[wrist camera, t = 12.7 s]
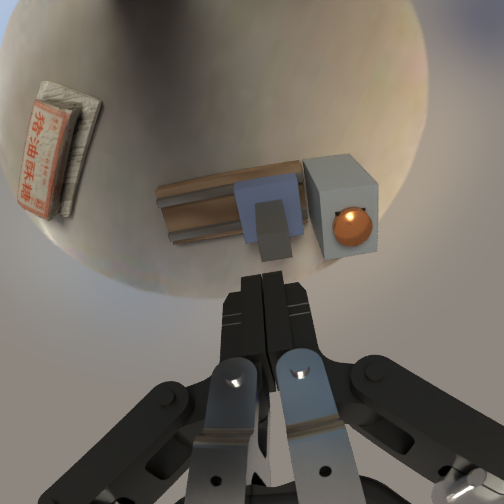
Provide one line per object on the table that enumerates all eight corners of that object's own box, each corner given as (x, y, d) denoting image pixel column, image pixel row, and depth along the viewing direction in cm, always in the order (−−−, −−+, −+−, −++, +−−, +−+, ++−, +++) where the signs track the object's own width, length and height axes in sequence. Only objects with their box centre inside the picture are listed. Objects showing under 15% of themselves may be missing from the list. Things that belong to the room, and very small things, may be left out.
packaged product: (58, 231, 38) (6, 205, 35) (73, 214, 42) (23, 191, 39) (88, 105, 29) (25, 83, 26) (105, 99, 33) (46, 78, 30)
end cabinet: (302, 159, 38) (319, 191, 29) (349, 153, 37) (378, 184, 29) (309, 219, 42) (324, 263, 34) (352, 212, 42) (376, 254, 33)
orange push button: (321, 189, 34) (333, 214, 29) (355, 184, 34) (372, 208, 29) (323, 220, 37) (335, 249, 32) (356, 215, 36) (372, 243, 31)
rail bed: (158, 186, 39) (153, 194, 37) (298, 160, 38) (301, 166, 36) (175, 238, 44) (172, 247, 42) (305, 216, 42) (308, 225, 40)
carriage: (234, 182, 37) (230, 220, 29) (294, 172, 36) (308, 208, 28) (245, 233, 40) (245, 280, 33) (301, 224, 40) (314, 270, 32)
